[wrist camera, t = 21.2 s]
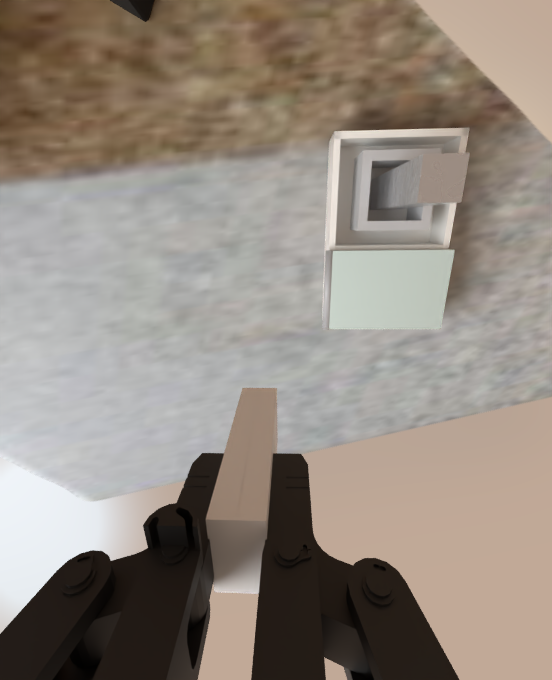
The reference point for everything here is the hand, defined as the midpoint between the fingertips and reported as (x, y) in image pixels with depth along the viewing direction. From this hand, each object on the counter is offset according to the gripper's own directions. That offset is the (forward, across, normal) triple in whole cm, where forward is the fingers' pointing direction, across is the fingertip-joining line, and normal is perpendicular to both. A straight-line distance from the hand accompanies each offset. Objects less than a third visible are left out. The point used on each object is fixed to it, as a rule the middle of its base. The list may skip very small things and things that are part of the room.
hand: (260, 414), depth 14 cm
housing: (+32, +13, +6) cm, 35 cm away
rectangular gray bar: (+31, +13, +11) cm, 36 cm away
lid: (+27, +13, 0) cm, 30 cm away
